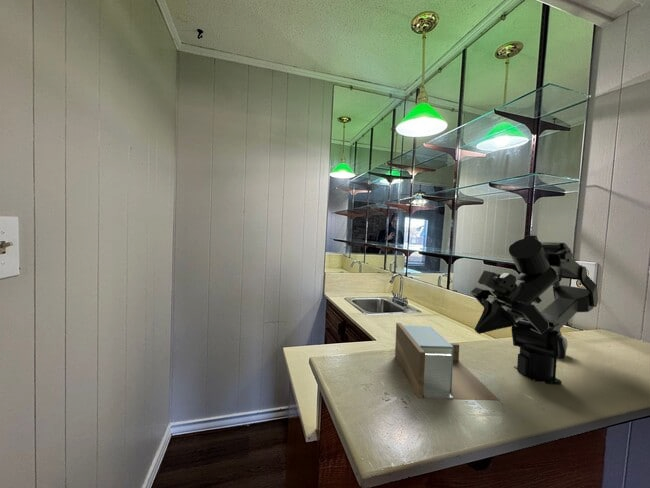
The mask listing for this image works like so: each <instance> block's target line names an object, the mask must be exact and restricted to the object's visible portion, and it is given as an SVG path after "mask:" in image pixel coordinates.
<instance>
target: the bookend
mask: <svg viewBox="0 0 650 488" xmlns="http://www.w3.org/2000/svg"><path fill="white" fill-rule="evenodd" d="M451 360H452V355H451V354H443V353H425V369H424V391H423V396H424V398H423V399H437V398H445V399H444V400H454V399H453V397H452V396H451V394H450V380H451Z"/></svg>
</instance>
